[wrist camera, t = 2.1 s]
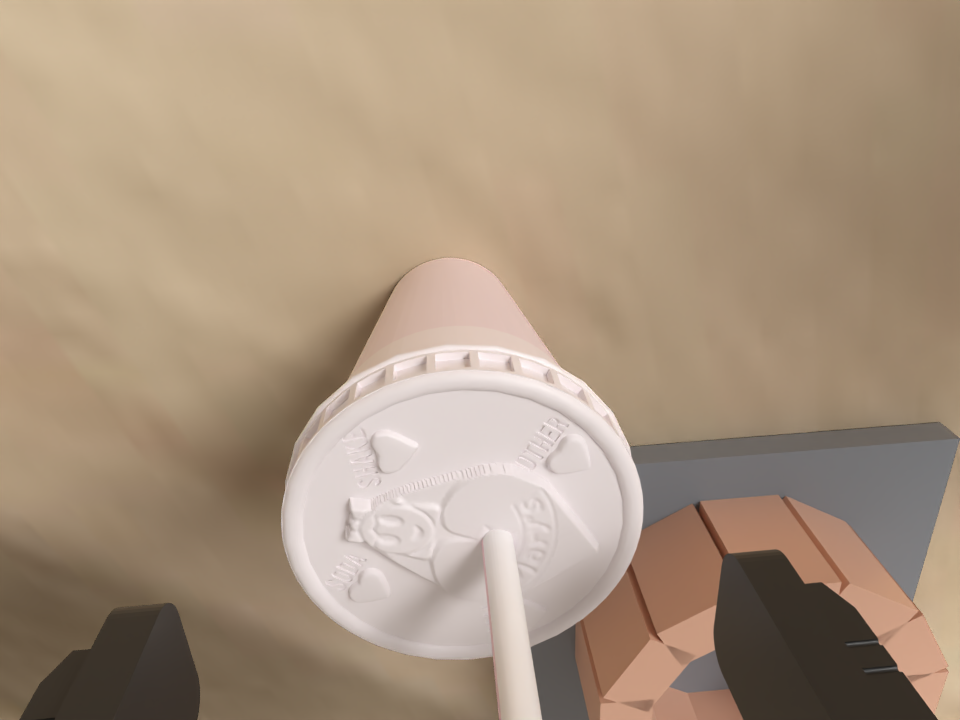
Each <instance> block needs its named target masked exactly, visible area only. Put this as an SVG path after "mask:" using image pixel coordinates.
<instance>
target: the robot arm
mask: <svg viewBox="0 0 960 720" xmlns="http://www.w3.org/2000/svg"><path fill="white" fill-rule="evenodd" d="M713 636H714V646H715V652H716V656H717V660H718V664H719V667H720V670H721V672H722V674H723V677H724V679H725V681H726V683H727V685H728V688H729V690H730V692H731V694H732V696H733V698H734V701H735V703H736V705H737V707H738V709H739V711H740V714H741V716H742V718H743V720H938V719H937V718H936V716H935V715H934V714H933V712H932V711H931V710H930V708H929V707H928V705H927V704H926V703H925V701H924V700H923V699H922V697H921V696H920V695H919V693H918V692H917V691H916V689H915V688H914V686H913V685H912V684H911V682H910V681H909V680H908V678H907V677H906V676H905V674H904V673H903V672H899V670H898V667H897V663H896V662H895V661H894V659H893V658H892V657H891V655H890V654H889V653H888V651H887V650H886V649H885V647H884V646H883V645H880V644H879V642H878V638H877V636H876V635H875V634H874V632H873V631H872V630H871V628H870V627H869V625H868V624H867V623H866V621H865V620H864V619H863V617H862V616H861V615H860V613H859V612H858V611H857V609H856V608H855V607H854V606H853V605H851V604H850V603H849V602H847V601H846V600H845V599H843V598H842V597H841V596H839V595H838V594H837V593H835V592H834V591H833V590H831V589H830V588H829V587H827V586H826V585H825V584H823V583H822V582H817V583H807V584H805V583H804V582H803V580H802V579H801V578H800V576H799V575H798V573H797V572H796V570H795V569H794V567H793V566H792V564H791V563H790V561H789V560H788V558H787V557H786V556H785V554H783V553H782V552H781V551H780V550H777V549H772V550H761V551H750V552H740V553H729V554H726V555H725V556H724V558H723V561H722V566H721V574H720V582H719V589H718V597H717V605H716V613H715V620H714V629H713ZM199 704H200V686H199V678H198V674H197V671H196V668H195V665H194V661H193V658H192V655H191V652H190V649H189V645H188V642H187V639H186V636H185V633H184V629H183V626H182V623H181V620H180V617H179V613H178V611H177V609H176V607H175V606H174V605H173V604H171V603H164V604H153V605H142V606H132V607H121V608H116V609H114V610H113V611H112V612H111V613H110V614H109V615H108V617H107V619H106V621H105V623H104V624H103V626H102V628H101V630H100V632H99V634H98V636H97V638H96V640H95V642H94V644H93V646H92V648H91V649H87V650H76V651H72V652H71V653H70V654H69V655H68V656H67V657H66V658H65V659H64V660H63V661H62V662H61V663H60V664H59V665H58V666H57V667H56V668H55V669H54V670H53V671H52V672H51V673H50V674H49V675H48V676H47V677H46V678H45V679H44V680H43V681H42V682H41V683H40V684H39V686H38V688H37V690H36V691H35V693H34V695H33V697H32V699H31V700H30V702H29V704H28V706H27V707H26V709H25V711H24V713H23V714H22V716H21V718H20V720H197V718H198V712H199Z"/></svg>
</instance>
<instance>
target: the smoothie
mask: <svg viewBox="0 0 960 720" xmlns="http://www.w3.org/2000/svg"><path fill="white" fill-rule="evenodd" d="M643 508H644V507H643V493H642V488H641V483H640V478H639V475H638V472H637V469H636V466H635V464H634V462H633V459H632V457H631V450H630V446H629V444H628V442H627V440H626V438H625V436H624V434H623V432H622V430H621V428H620V426H619V424H618V422H617V419H616V417H615V415H614V413H613V412H612V411H611V410H610V408H609V407H608V406H607V405H606V404H605V403H604V402H603V401H602V400H601V399H600V398H599V397H598V396H597V395H596V394H595V393H594V392H593V391H592V390H591V388H590V387H589V386H588V385H587V384H586V383H585V382H584V381H582V380H581V379H579V378H577V377H576V376H574V375H572V374H570V373H569V372H567V371H565V370H564V369H562V368H561V367H560V366H559V364H558V363H557V362H556V360H555V359H554V357H553V356H552V354H551V353H550V352H549V350H548V349H547V347H546V346H545V344H544V343H543V342H542V340H541V339H540V337H539V336H538V334H537V333H536V331H535V330H534V329H533V327H532V326H531V324H530V323H529V321H528V320H527V319H526V317H525V316H524V314H523V313H522V311H521V310H520V309H519V307H518V306H517V304H516V303H515V301H514V300H513V299H512V297H511V296H510V294H509V293H508V291H507V290H506V288H505V287H504V286H503V284H502V283H501V282H500V280H499V279H498V278H497V277H496V276H495V275H494V274H493V273H492V272H490V271H489V270H488V269H486V268H485V267H483V266H481V265H479V264H477V263H475V262H472V261H469V260H465V259H460V258H440V259H435V260H431V261H428V262H425V263H423V264H421V265H419V266H417V267H415V268H414V269H412V270H411V271H409V272H408V273H407V274H406V275H405V276H404V277H403V278H402V279H401V280H400V281H399V282H398V284H397V285H396V287H395V288H394V290H393V292H392V294H391V296H390V298H389V300H388V302H387V304H386V306H385V308H384V310H383V312H382V314H381V315H380V317H379V319H378V321H377V323H376V325H375V327H374V329H373V331H372V333H371V335H370V337H369V339H368V341H367V343H366V345H365V347H364V349H363V351H362V353H361V355H360V357H359V359H358V361H357V363H356V365H355V367H354V369H353V371H352V372H351V374H350V376H349V378H348V380H347V382H346V383H344V384H343V385H342V386H341V387H340V388H339V389H338V390H336V391H335V392H334V393H333V394H332V395H331V396H330V397H328V398H327V399H326V400H325V401H324V402H323V403H322V404H320V405H319V406H318V407H317V409H316V411H315V412H314V414H313V415H312V417H311V418H310V420H309V422H308V423H307V425H306V426H305V428H304V430H303V431H302V433H301V434H300V436H299V437H298V439H297V441H296V442H295V445H294V449H293V453H292V456H291V460H290V464H289V468H288V472H287V476H286V480H285V493H284V497H283V504H282V510H281V529H282V539H283V544H284V548H285V553H286V556H287V558H288V561H289V564H290V567H291V569H292V571H293V573H294V575H295V577H296V579H297V581H298V582H299V584H300V585H301V587H302V588H303V590H304V591H305V593H306V594H307V595H308V596H309V598H310V599H311V600H312V601H313V602H314V604H315V605H316V606H317V607H318V608H319V609H320V610H321V611H322V612H323V613H325V614H326V615H327V616H328V617H329V618H331V619H332V620H333V621H334V622H335V623H337V624H338V625H340V626H341V627H343V628H344V629H346V630H347V631H349V632H351V633H352V634H354V635H356V636H358V637H360V638H361V639H364V640H366V641H368V642H370V643H372V644H374V645H376V646H380V647H383V648H386V649H389V650H392V651H395V652H399V653H402V654H405V655H411V656H417V657H424V658H430V659H440V660H470V659H478V658H486V657H493V664H494V674H495V684H496V694H497V704H498V714H499V720H542V715H541V709H540V703H539V697H538V690H537V684H536V678H535V672H534V666H533V659H532V653H531V647H532V646H534V645H536V644H538V643H541V642H543V641H545V640H548V639H550V638H552V637H554V636H556V635H558V634H560V633H562V632H563V631H565V630H566V629H568V628H570V627H572V626H573V625H574V624H576V623H577V622H579V621H580V620H582V619H583V618H584V617H586V616H587V615H588V614H589V613H590V612H592V611H593V610H594V609H595V608H596V607H597V606H598V605H599V604H600V603H601V602H602V601H603V600H604V599H606V597H607V596H608V595H609V594H610V593H611V592H612V590H613V589H614V588H615V587H616V585H617V584H618V583H619V581H620V580H621V578H622V577H623V575H624V574H625V572H626V570H627V568H628V566H629V565H630V563H631V561H632V558H633V556H634V553H635V551H636V549H637V545H638V542H639V538H640V535H641V529H642V523H643Z"/></svg>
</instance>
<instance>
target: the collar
mask: <svg viewBox="0 0 960 720" xmlns="http://www.w3.org/2000/svg"><path fill="white" fill-rule="evenodd" d="M959 440H960V438H959V437H958V436H956V435H955V434H954V433H953V432H951V431H950V430H949V429H948V428H946V427H945V426H944V425H943V424H941V423H940V422H938V423H925V424H912V425H900V426H887V427H874V428H862V429H849V430H836V431H824V432H811V433H798V434H785V435H773V436H760V437H747V438H735V439H722V440H709V441H697V442H684V443H671V444H659V445H646V446H633V447H630V450H631V457H632V459H633V462H634V464H635V466H636V469H637V472H638V475H639V478H640V483H641V488H642V493H643V507H644V508H643V523H642V529H641V535H640V538H639V542H638V545H637V549H636V551H635V553H634V556H633V558H632V561H631V563H630V565H629V566H628V568H627V570H626V572H625V574H624V575H623V577H622V578H621V580H620V581H619V583H618V584H617V585H616V587H615V588H614V589H613V590H612V592H611V593H610V594H609V595H608V596H607V597H606V599H604V600H603V601H602V602H601V603H600V604H599V605H598V606H597V607H596V608H595V609H594V610H593V611H592V612H590V613H589V614H588V615H587V616H586V617H584V618H583V619H582V620H580V621H579V622H577V623H576V624H574V625H573V626H572V627H570V628H568V629H566V630H565V631H563V632H562V633H560V634H558V635H556V636H554V637H552V638H550V639H548V640H545V641H543V642H541V643H538V644H536V645H534V646H532V647H531V653H532V659H533V666H534V672H535V678H536V684H537V690H538V697H539V703H540V709H541V715H542V720H743V718H742V716H741V714H740V711H739V709H738V707H737V705H736V703H735V701H734V698H733V696H732V694H731V692H730V690H729V688H728V685H727V683H726V681H725V679H724V677H723V674H722V672H721V670H720V667H719V664H718V660H717V656H716V652H715V646H714V636H713V629H714V620H715V613H716V605H717V597H718V589H719V582H720V574H721V566H722V561H723V558H724V556H725V555H726V554H729V553H740V552H750V551H761V550H772V549H777V550H780V551H781V552H782V553H783V554H785V556H786V557H787V558H788V560H789V561H790V563H791V564H792V566H793V567H794V569H795V570H796V572H797V573H798V575H799V576H800V578H801V579H802V580H803V582H804V583H805V584H807V583H817V582H822V583H823V584H825V585H826V586H827V587H829V588H830V589H831V590H833V591H834V592H835V593H837V594H838V595H839V596H841V597H842V598H843V599H845V600H846V601H847V602H849V603H850V604H851V605H853V606H854V607H855V608H856V609H857V611H858V612H859V613H860V615H861V616H862V617H863V619H864V620H865V621H866V623H867V624H868V625H869V627H870V628H871V630H872V631H873V632H874V634H875V635H876V636H877V638H878V642H879V644H880V645H883V646H884V647H885V649H886V650H887V651H888V653H889V654H890V655H891V657H892V658H893V659H894V661H895V662H896V663H897V667H898V670H899V672H903V673H904V674H905V676H906V677H907V678H908V680H909V681H910V682H911V684H912V685H913V686H914V688H915V689H916V691H917V692H918V693H919V695H920V696H921V697H922V699H923V700H924V701H925V703H926V704H927V705H928V707H929V708H930V710H931V711H932V712H933V714H935V711H936V708H937V705H938V702H939V699H940V696H941V693H942V690H943V687H944V684H945V681H946V679H947V676H948V673H949V672H948V670H947V669H946V667H948V664H947V662H946V660H945V658H944V656H943V654H942V652H941V650H940V648H939V646H938V644H937V642H936V640H935V638H934V636H933V634H932V632H931V630H930V627H929V625H928V623H927V621H926V619H925V617H924V615H923V614H922V613H921V612H920V610H919V609H918V608H917V607H916V605H915V604H914V603H913V598H914V595H915V591H916V588H917V584H918V581H919V578H920V574H921V571H922V567H923V564H924V560H925V557H926V553H927V550H928V547H929V543H930V540H931V536H932V533H933V529H934V526H935V523H936V519H937V516H938V512H939V509H940V505H941V502H942V498H943V495H944V492H945V488H946V485H947V481H948V478H949V474H950V471H951V468H952V464H953V461H954V457H955V454H956V450H957V447H958V443H959Z"/></svg>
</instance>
